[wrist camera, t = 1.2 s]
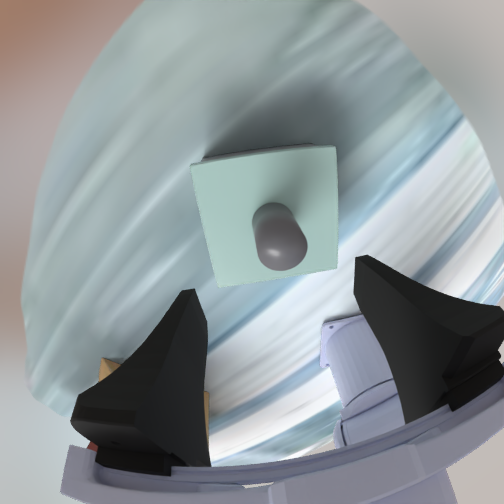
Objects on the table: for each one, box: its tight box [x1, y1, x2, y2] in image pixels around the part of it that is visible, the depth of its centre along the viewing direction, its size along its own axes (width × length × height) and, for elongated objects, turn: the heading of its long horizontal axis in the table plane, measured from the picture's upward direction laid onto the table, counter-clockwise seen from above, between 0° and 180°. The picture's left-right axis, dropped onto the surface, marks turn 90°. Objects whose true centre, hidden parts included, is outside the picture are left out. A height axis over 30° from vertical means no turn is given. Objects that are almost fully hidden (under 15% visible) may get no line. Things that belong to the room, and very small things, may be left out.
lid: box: [190, 145, 338, 288], centre depth 16 cm, size 9×9×5 cm
